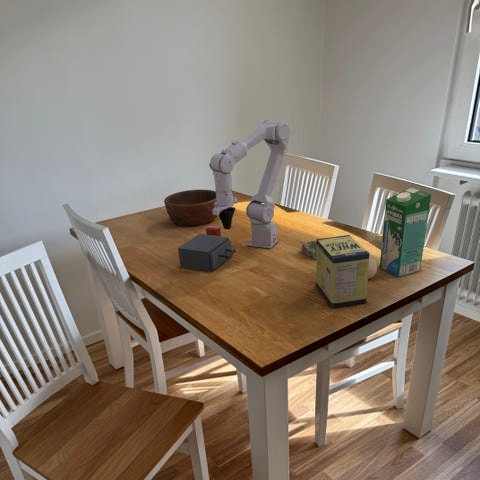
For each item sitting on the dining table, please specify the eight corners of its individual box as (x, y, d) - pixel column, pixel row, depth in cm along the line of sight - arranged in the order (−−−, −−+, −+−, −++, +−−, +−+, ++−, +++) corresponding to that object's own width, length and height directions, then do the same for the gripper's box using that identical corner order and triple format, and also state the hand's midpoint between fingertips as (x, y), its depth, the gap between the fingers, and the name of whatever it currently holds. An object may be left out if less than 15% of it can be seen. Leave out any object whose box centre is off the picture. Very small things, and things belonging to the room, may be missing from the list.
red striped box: (221, 244, 178) (219, 226, 174) (217, 247, 176) (215, 228, 172) (211, 243, 180) (209, 225, 176) (207, 246, 178) (205, 227, 174)
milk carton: (379, 267, 150) (386, 191, 137) (401, 261, 153) (410, 186, 140) (397, 277, 143) (407, 198, 130) (420, 270, 146) (431, 193, 133)
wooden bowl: (175, 211, 220) (172, 190, 214) (226, 210, 216) (224, 188, 211) (160, 229, 199) (156, 206, 193) (216, 228, 195) (214, 204, 190)
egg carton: (298, 251, 167) (298, 240, 165) (315, 246, 169) (315, 236, 167) (315, 260, 158) (315, 249, 156) (333, 255, 161) (333, 244, 159)
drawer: (241, 256, 164) (240, 241, 161) (223, 271, 155) (222, 255, 152) (205, 251, 171) (203, 237, 168) (186, 265, 161) (184, 250, 158)
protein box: (346, 280, 144) (349, 233, 136) (366, 303, 130) (370, 253, 122) (315, 285, 143) (315, 238, 135) (332, 308, 129) (333, 258, 121)
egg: (369, 273, 147) (371, 250, 143) (379, 279, 143) (382, 256, 138) (355, 276, 146) (356, 253, 142) (364, 283, 141) (366, 260, 137)
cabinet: (230, 256, 167) (228, 237, 164) (210, 272, 157) (208, 252, 153) (201, 252, 173) (199, 233, 169) (180, 267, 162) (177, 247, 158)
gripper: (223, 184, 163) (227, 221, 170) (203, 195, 152) (207, 234, 159) (241, 185, 160) (243, 222, 167) (221, 197, 149) (225, 236, 156)
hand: (227, 228), depth 163 cm, fingers closed
